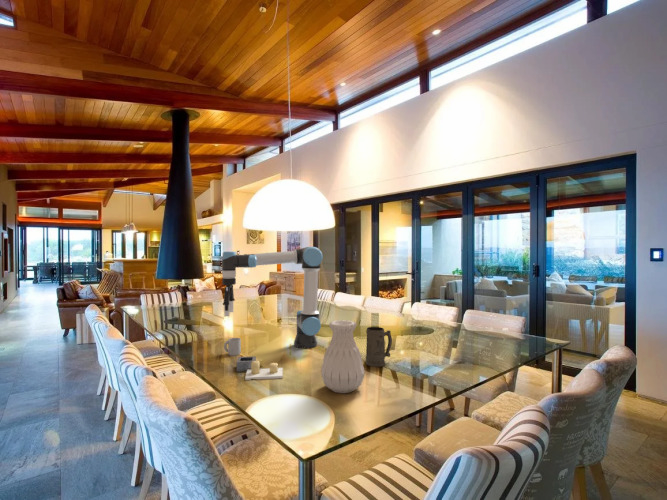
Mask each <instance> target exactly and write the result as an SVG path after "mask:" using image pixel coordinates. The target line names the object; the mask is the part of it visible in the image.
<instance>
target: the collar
mask: <svg viewBox="0 0 667 500" xmlns="http://www.w3.org/2000/svg"><path fill="white" fill-rule="evenodd" d="M256 358H257V357H256V355H255V356H253V355H252V356H239V357H237V361H236V372H237V373H239V372H240V371H244V372H247V369H251V362H252V361H257V359H256ZM240 373H241V372H240Z"/></svg>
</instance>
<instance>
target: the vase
mask: <svg viewBox="0 0 667 500" xmlns="http://www.w3.org/2000/svg"><path fill="white" fill-rule="evenodd" d="M328 325H329V328H330V330H331V331H332V336H331V338H330V339H331V340H330V343H329V344H328V346H327V348H326V351H325V353H324V355H323V362H322V365H321V370H320V373H321V378H322V381H323V384H324V385H325V386H326V388H328V389H329V390H330V391H332V392H335V393H338V394H347V393H352V392H353V391H355V390H357V389H358V388H360V386H361V385H362V384H363V380H364V378H365V374H366V371H365V368H364V361H363V358H362V354H361V352H360V349H359V347H358V345H357V343H356V341H355V337H354V331H355V330H356V328H357V322H356V321H352V320H343V319H342V320H339V319H337V320H333V321H330V322H329V324H328Z"/></svg>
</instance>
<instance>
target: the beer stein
mask: <svg viewBox="0 0 667 500" xmlns="http://www.w3.org/2000/svg"><path fill="white" fill-rule="evenodd" d="M365 332H366V348H365V349H366V350H365V354H366V355H365V365H367V366H369V367H373V368H374V367H375V368H377V367H383V366H385V365H386V360H385V359H386V357H388V358H391V353H390V350H391V347H392V344H393V338H392V334H391V330H386V331H385V329H384V328H383V327H379V326H368V327H367V328H366V331H365ZM385 336H387V338H388V339H387V340H388V341H387V347H386V341H385Z"/></svg>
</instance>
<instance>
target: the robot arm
mask: <svg viewBox="0 0 667 500" xmlns="http://www.w3.org/2000/svg"><path fill="white" fill-rule="evenodd" d="M323 258H324V257H323V253H322V251H321V249H319V247H316V246H307V247H303V248H295V249H294V250H291V251H290V250H289V251H288V250H287V251H278V252H277V251H276V252H274V251H273V252H263V253H262V252H261V253H251V254H250V253H245V254H237V252H236V251H223V252H222V259H221V260H222V261H221V263H222V266H221V267H222V271H221V274H222V275H221V276H222V283H221V284H222V285H223V286H225V287H224V295H223V296H224V297H223V303H222V305H223V306H224V307H223V309H224V311H223V312H224V313H223V315H224V317H230V313H234V302H235V301H236V300H235V297H234V296H235V295H234V294H235V293H234V285H236V284H237V283H236V276H237V275H236V274H237V271H236V270H237V269H236V268H256V267H257V266H264V265H265V266H268V265H270V266H271V265H280V264H293V263H294V264H295V265H301V270H303V302H302V303H303V306H302V307H303V308H302V310H297V312H296V335H295V338H294V340H293V347H295V348H297V349H312V348H315V347H318V341H317V337H316V335H317V334H318V333H319V332H320V331H321V328H322V327H321V326H322V324H321V321H320V312H319V310H318V288H319V287H318V285H319V282H318V281H319V271H320V270H321V269H322V268H321V266H322V265H321V264H322V261H323Z"/></svg>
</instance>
